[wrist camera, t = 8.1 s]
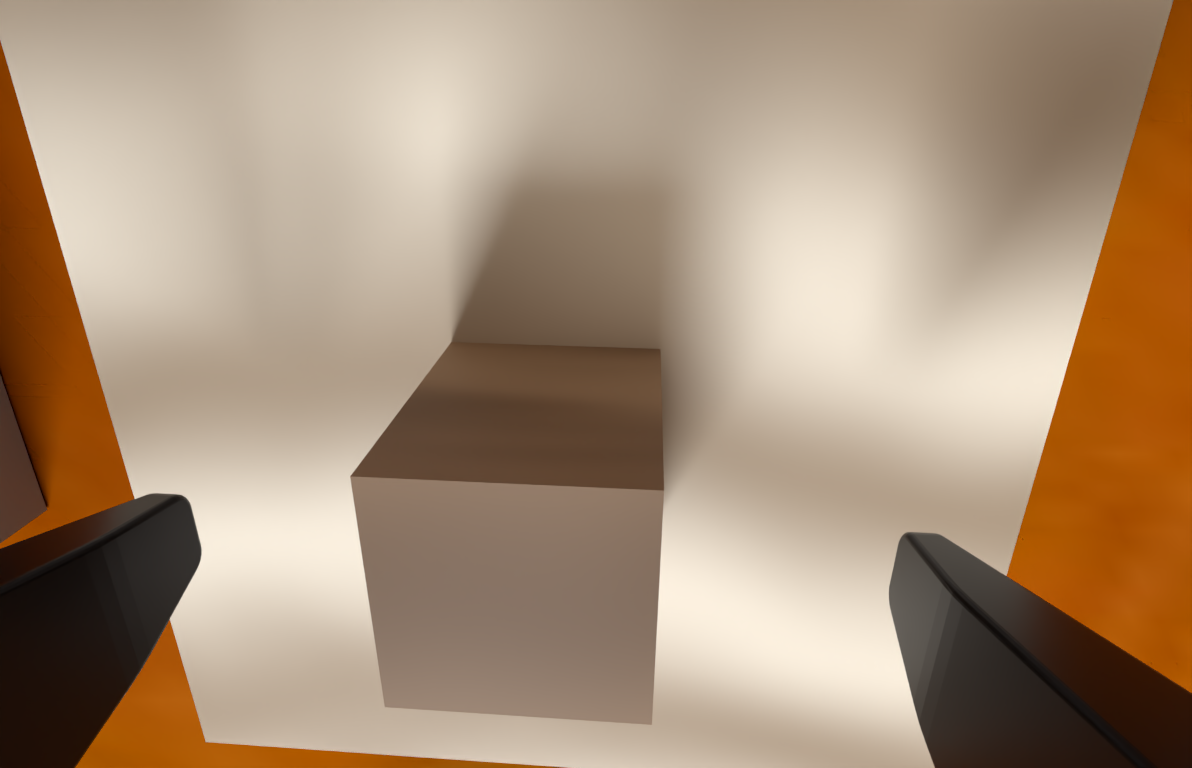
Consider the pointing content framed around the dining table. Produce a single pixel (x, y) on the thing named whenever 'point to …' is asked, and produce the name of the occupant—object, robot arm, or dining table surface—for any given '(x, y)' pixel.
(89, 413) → the dining table surface
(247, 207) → the lid
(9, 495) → the box
